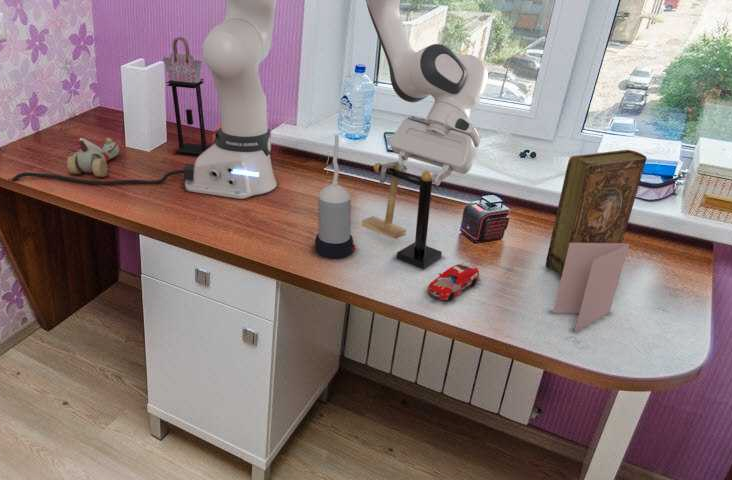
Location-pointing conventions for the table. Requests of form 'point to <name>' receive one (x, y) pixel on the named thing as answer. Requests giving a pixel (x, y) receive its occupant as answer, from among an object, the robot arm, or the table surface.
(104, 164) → the toy dog
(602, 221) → the book
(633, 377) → the table surface
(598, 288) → the greeting card
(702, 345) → the table surface
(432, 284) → the race car
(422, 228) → the stand
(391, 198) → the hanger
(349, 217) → the humidifier
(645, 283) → the table surface
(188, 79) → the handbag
